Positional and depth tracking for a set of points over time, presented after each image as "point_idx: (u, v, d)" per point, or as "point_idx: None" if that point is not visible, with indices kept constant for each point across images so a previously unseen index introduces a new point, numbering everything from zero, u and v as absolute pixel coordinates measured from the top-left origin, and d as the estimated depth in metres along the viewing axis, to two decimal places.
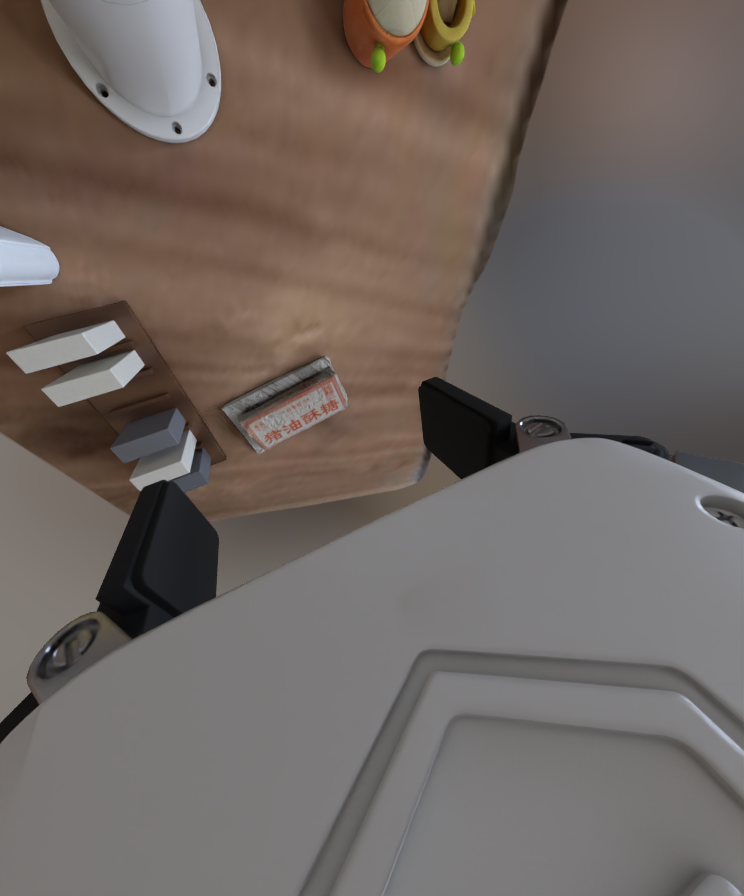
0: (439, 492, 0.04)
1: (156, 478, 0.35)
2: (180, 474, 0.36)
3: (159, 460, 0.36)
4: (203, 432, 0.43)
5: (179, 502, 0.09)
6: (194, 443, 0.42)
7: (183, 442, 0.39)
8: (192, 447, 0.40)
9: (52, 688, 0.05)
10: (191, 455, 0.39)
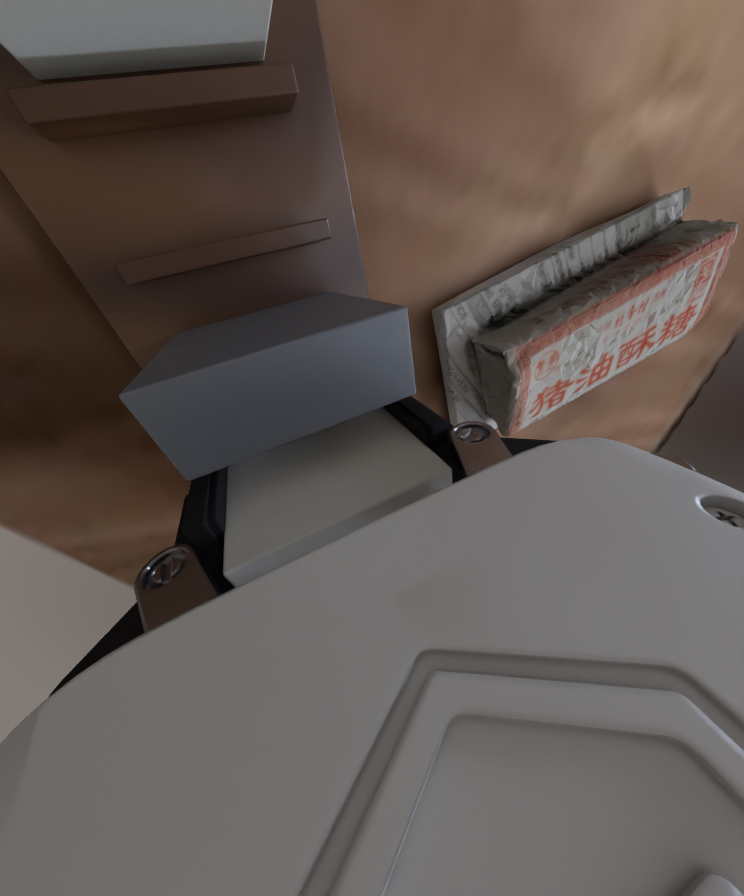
0: (439, 492, 0.04)
1: None
2: None
3: (326, 466, 0.08)
4: None
5: None
6: None
7: None
8: None
9: (159, 595, 0.06)
10: None
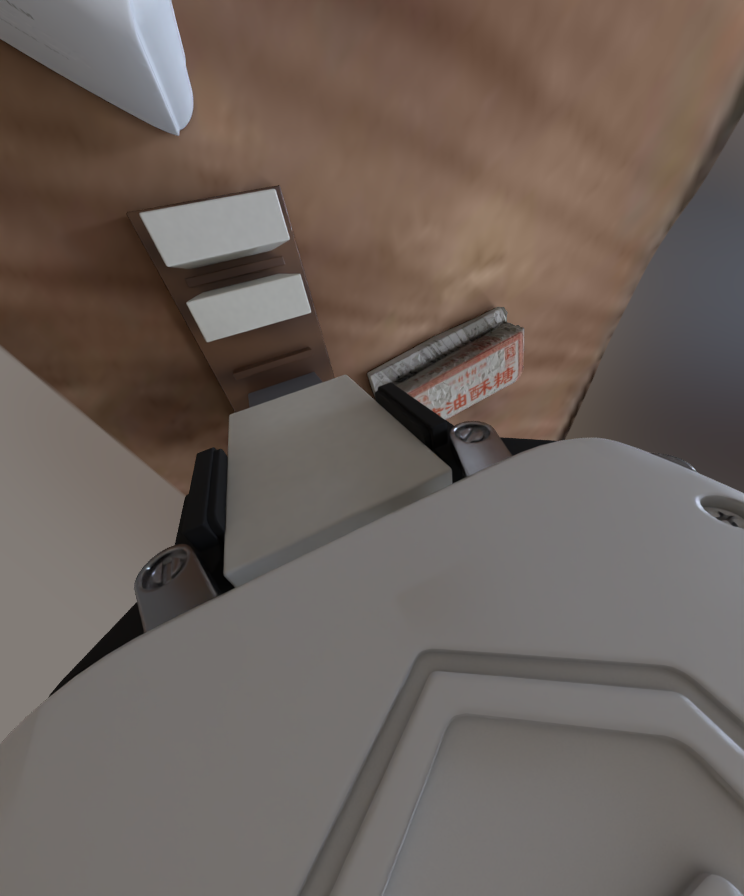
0: (439, 492, 0.04)
1: None
2: None
3: (326, 466, 0.08)
4: None
5: None
6: None
7: (367, 402, 0.11)
8: None
9: (159, 595, 0.06)
10: None
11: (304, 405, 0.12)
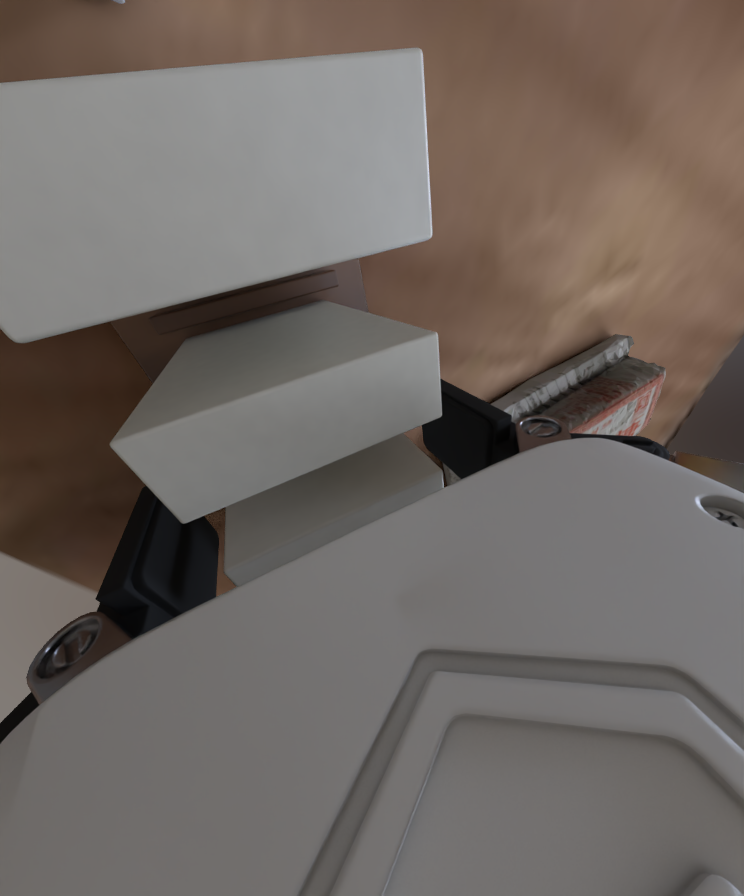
0: (439, 492, 0.04)
1: None
2: None
3: (323, 468, 0.09)
4: None
5: None
6: None
7: None
8: None
9: (52, 688, 0.05)
10: None
11: None
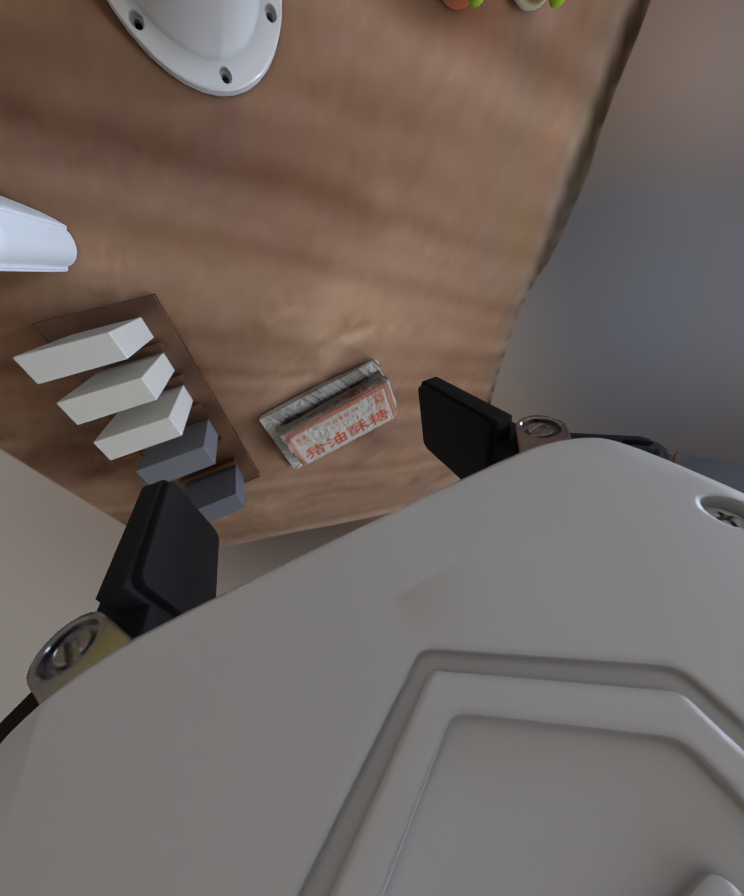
0: (439, 492, 0.04)
1: (133, 441, 0.24)
2: (168, 437, 0.25)
3: (139, 418, 0.26)
4: (236, 446, 0.37)
5: (179, 502, 0.09)
6: (189, 403, 0.31)
7: (174, 397, 0.28)
8: (186, 406, 0.30)
9: (52, 688, 0.05)
10: (185, 415, 0.28)
11: None
